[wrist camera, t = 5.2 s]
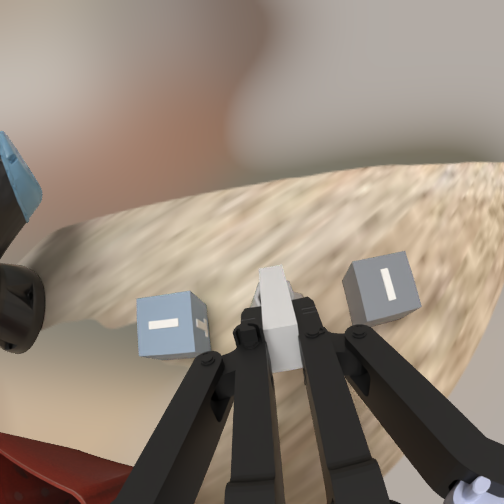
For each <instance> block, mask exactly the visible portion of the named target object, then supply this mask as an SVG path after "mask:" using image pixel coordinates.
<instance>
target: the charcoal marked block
mask: <svg viewBox="0 0 504 504" xmlns="http://www.w3.org/2000/svg"><path fill="white" fill-rule="evenodd" d="M342 282H343V286H344V290H345V294H346V299H347V303H348V307H349V312H350V316H351V321H352V326H353V325H356V324H363V325H367V326H369V327H372V326H376V325H379V324H383V323H387V322H391V321H394V320H398V319H401V318H403V317H405V316H406V315H408V314H410V313H412V312H414V311H415V310H417V309H419V308H420V307H422V306H421V302H420V299H419V295H418V292H417V288H416V285H415V281H414V278H413V275H412V271H411V268H410V265H409V262H408V259H407V256H406V253H405V251H402V252H397V253H393V254H388V255H383V256H378V257H373V258H368V259H363V260H358V261H353V262H352V263H351V265H350V267H349V269H348V271H347V273H346V274H345V276H344V278H343V280H342Z"/></svg>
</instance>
